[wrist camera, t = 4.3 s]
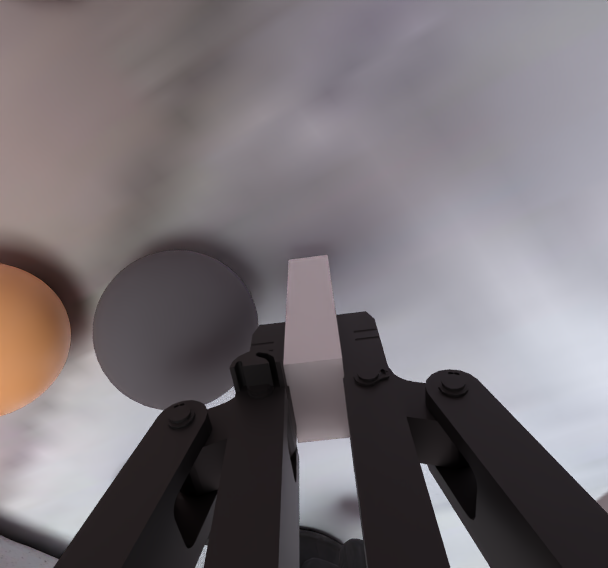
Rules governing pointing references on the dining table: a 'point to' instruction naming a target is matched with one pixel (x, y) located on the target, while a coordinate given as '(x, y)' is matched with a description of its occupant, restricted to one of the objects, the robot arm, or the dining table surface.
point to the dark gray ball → (173, 328)
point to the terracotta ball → (29, 338)
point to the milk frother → (328, 552)
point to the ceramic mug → (23, 556)
